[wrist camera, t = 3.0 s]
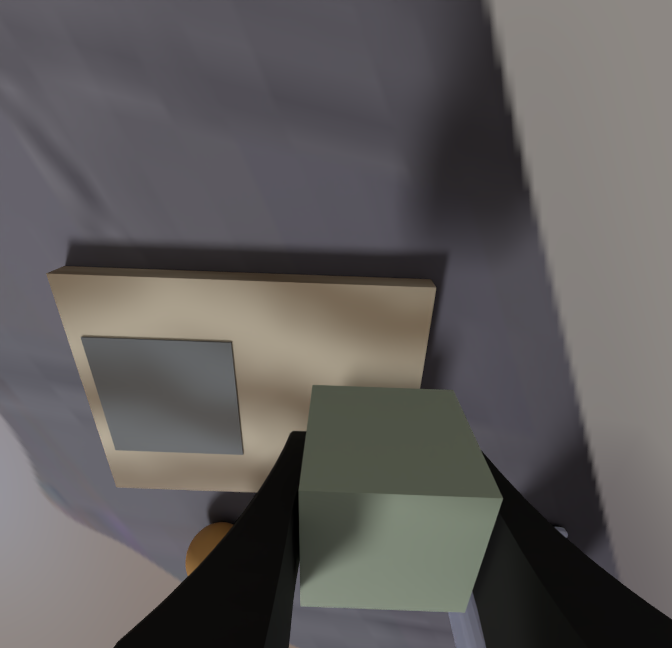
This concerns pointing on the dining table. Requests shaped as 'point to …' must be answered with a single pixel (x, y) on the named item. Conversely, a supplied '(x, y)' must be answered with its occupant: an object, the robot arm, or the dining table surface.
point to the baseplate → (228, 362)
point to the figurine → (205, 544)
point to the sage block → (392, 501)
